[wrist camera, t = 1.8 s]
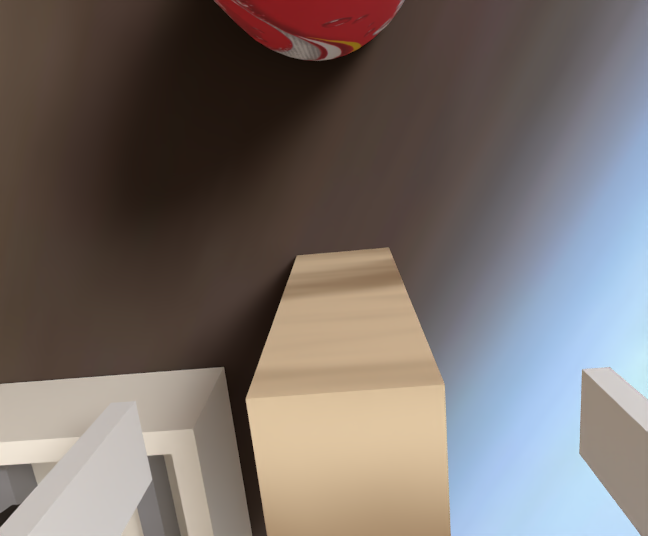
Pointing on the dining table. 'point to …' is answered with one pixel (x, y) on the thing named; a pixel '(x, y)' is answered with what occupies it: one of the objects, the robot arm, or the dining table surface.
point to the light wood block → (349, 406)
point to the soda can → (312, 24)
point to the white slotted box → (159, 437)
